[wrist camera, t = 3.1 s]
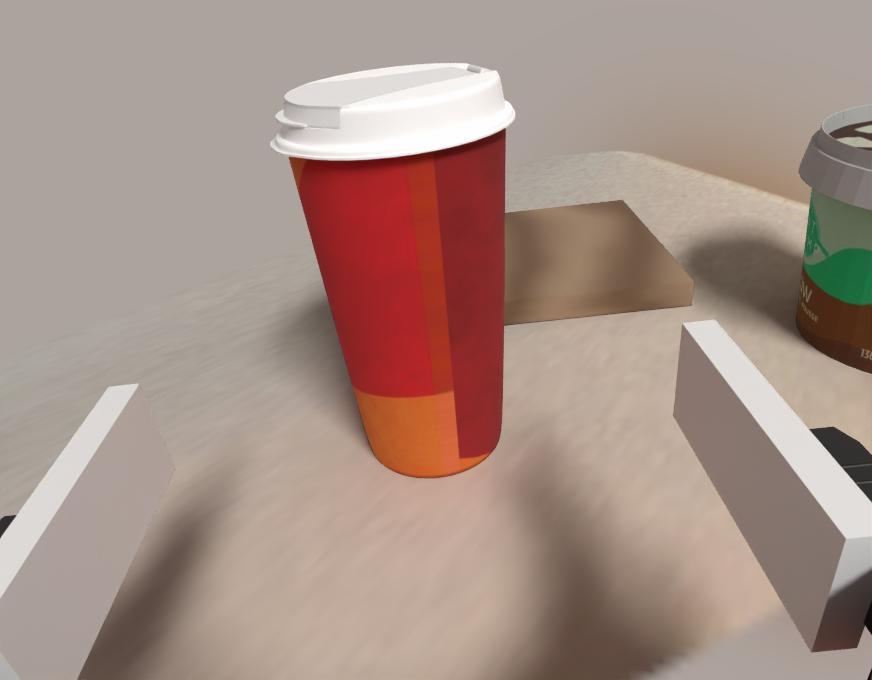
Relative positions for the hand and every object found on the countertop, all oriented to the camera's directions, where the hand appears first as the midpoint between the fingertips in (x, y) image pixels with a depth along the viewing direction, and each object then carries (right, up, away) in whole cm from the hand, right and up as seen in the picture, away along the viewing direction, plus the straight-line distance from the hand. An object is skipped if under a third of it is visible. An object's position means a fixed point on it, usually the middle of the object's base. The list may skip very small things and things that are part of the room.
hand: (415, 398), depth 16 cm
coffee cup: (0, -3, +13) cm, 14 cm away
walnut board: (+6, +6, +27) cm, 28 cm away
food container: (+21, +2, +17) cm, 27 cm away
